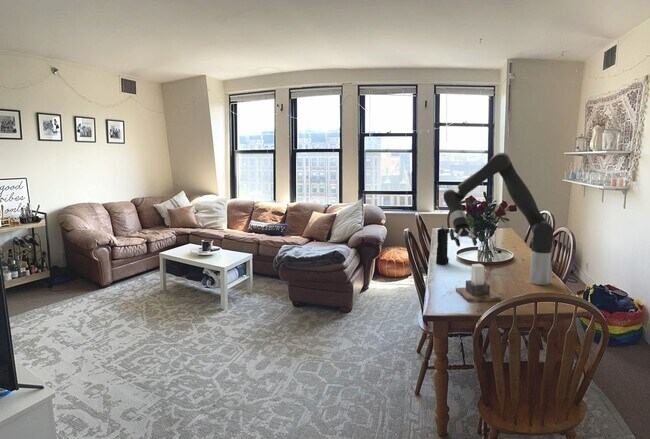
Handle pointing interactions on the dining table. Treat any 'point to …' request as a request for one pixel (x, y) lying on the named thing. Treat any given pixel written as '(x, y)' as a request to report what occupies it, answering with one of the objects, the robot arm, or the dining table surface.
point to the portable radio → (442, 246)
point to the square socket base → (477, 292)
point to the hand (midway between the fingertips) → (467, 245)
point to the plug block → (477, 274)
